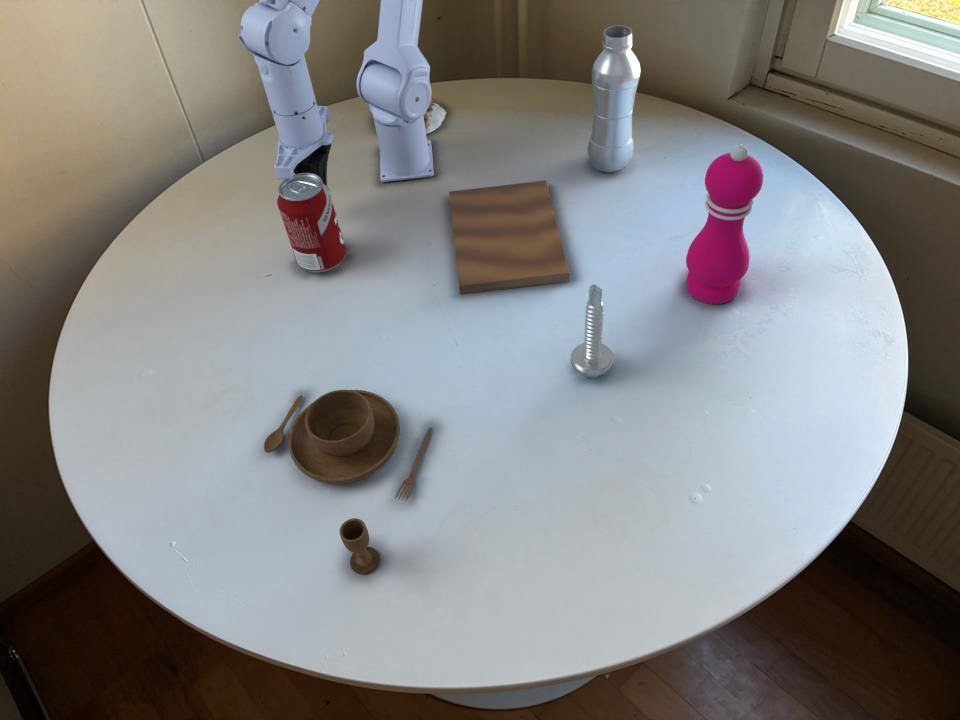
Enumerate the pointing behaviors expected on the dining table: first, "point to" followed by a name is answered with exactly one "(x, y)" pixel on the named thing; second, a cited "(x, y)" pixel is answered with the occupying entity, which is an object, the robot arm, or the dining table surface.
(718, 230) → the pepper mill
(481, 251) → the cutting board
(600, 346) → the screw
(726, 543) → the dining table surface
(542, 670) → the dining table surface
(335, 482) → the place setting
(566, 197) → the dining table surface
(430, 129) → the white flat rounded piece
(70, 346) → the dining table surface
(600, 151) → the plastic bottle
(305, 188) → the soda can
